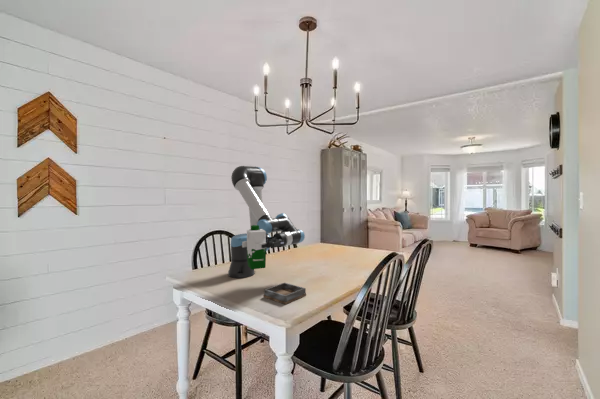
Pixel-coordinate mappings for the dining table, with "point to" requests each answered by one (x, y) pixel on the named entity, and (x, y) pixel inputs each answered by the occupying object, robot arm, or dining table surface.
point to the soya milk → (254, 257)
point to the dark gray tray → (285, 293)
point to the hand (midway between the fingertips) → (249, 245)
